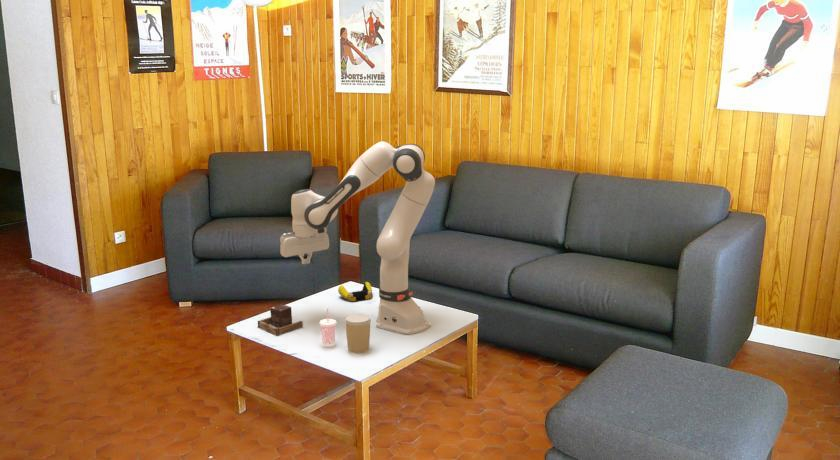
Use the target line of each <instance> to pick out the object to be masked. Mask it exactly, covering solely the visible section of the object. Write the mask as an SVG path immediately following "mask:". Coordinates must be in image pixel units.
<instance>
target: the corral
mask: <svg viewBox="0 0 840 460" xmlns="http://www.w3.org/2000/svg"><path fill="white" fill-rule="evenodd" d="M257 328H259V329H261V330H264V331H265V332H269V334H272V335H274V336H281V335H284V334H286V333H290V332H294V331H296V330H300V329H301V328H303V321H302V320H299V321H296V322H292V324H290V325H287V326H283V327H280V328H279V327H276V326H273V325H271V316H270V317H267V318H263V319H260V320H257Z"/></svg>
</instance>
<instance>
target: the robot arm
mask: <svg viewBox="0 0 840 460" xmlns="http://www.w3.org/2000/svg"><path fill="white" fill-rule="evenodd" d="M425 160H426V154H425V151H424V150H423V148H422V147H421V146H419V145H418V144H415V143H406V144H402V145H398V146H396V147H394V146H393V145H391V144H390V143H389V142H386V141H379V142H377V143H375V144H374V145H371V146H370V147H369V148H368V149H366V150H365V151H364V152H363V153H362V154H361V155H360V156H359V157H358V158H357V159H356V160H355V161H354V163H353V164H352V165H351V167H350V168H349V169H348V170H347V172H346V174H345V175H344V176H343V178H342V180H341V181H340V182H339V183H338V185H337V186H336V187H334V188H333V190H331V191H330V192H329V193H328V194H327V195H325V196H323V195H320V194H318V193H315V192H314V191H312V190H311V189H309V188H304V189H299V190H297V191H295V192H294V193H292V195H291V199H290V202H291V203H290V204H291V205H290V209H291V210H290V213H291V216H292V221H291V222H292V223H291V224H292V225H291V226H292V227H291V228H292V231H291V232H287V233H282V235H280V237H279V243H280V247H279V248H280V249H279V251H280V256H281V257H284V258H288V257H294V256H298V257H299V258H300V259H301V264H302V265H308V264H311V259H312V256H313V253H314V252H320V251H324V250H329V247H330V237H329V235H328V232H327V231H328V229H327V226H328V225H329V224H330V223H331V222H332V221H333V220H334V219H335V218H336V216H338V212H339V208H340V207H341V206H342V205H343V204H344V203H345V202H347V200H349V199H350V198H351V197H353V196H354V195H356V194H357V193H359V192H360V191H363V190H365V189H366V188H368V187H369V186H371V185H372V184H374V183H376V182H377V181H378V180H379V179H380V178H381V177H382V176H383V175H384V174H385V173H386V172H387V171H389V170H390V169H394V170H395V172H396V173H397V174H398V175H399V176H400V177H402V179H403V180H404V181H405V184H404V187H403V188H402V190H401V193H400V195H399V197H398V199H397V201H396V203H395V204H394V205H395V206H394V207H393V209H392V211H391V213H390V215H389V216H388V219H387V220H386V222H385V224H384V226H383V228H382V230H381V232H380V234H379V236H378V238H377V240H376V252H377V254H378V255H379V256H380V258H381V260H380V267H379V288H378V290H379V292H378V296H379V304H378V313H377V318H376V326H375V327H376V328H378V329H383V330H385V331H386V330H387V331H391V332H394V333H397V334H401V335H405V336H407V335H414V334H419V333H420V332H424V331H426V330H428V329H429V328H430V327H431V323H430V321H427V320H425V315H424V314H425V313H424V310H422V308H421V306H419V305H418V304H417V303H416V302H415V300H414V299H413V298H412V296H413V295H414V294H413V293H414V291H410V290H411V289H410V288H409V260H410V248H411V247H410V246H411V244H410V242H411V238H412V235H413V234H414V232H415V230H416V228H417V226H418V224H419V222H420V220H421V219H422V216H423V214H424V212H425V210H426V209H427V206H428V205H429V202H430V200H431V198H432V195H433V192H434V189H435V185H436V179H435V177H434V176H433V175H432V174H431V173H430V172H429V171H426V170H425V169H424V164H425ZM305 255H307V256H306V258H304V257H305Z"/></svg>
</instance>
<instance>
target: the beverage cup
mask: <svg viewBox="0 0 840 460" xmlns="http://www.w3.org/2000/svg"><path fill="white" fill-rule="evenodd" d="M326 317H327V318H323V319H320V321H319V325H320V332H321V342H322V346H323V347H326V348H327V347H328V348H330V347H334V346H335V345H336V326H337V320H336V319H333V318H329V308H326Z"/></svg>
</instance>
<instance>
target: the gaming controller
mask: <svg viewBox="0 0 840 460" xmlns="http://www.w3.org/2000/svg"><path fill="white" fill-rule="evenodd" d="M372 288H373V287H372V285H371V283H370V282H368V281H365V282H364V284H363V286H362V290H356V291H351V292H349V291H348V290H347V289H346V288H345V286H344V285H342V284H341V285H339V287H338V290H337V291H338V294H339V295H340V296H341V297H342V298H343V299H345V301H348V302H357V301H358V302H359V301H365V300H369V299H371V298H372V297H373V289H372Z"/></svg>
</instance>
